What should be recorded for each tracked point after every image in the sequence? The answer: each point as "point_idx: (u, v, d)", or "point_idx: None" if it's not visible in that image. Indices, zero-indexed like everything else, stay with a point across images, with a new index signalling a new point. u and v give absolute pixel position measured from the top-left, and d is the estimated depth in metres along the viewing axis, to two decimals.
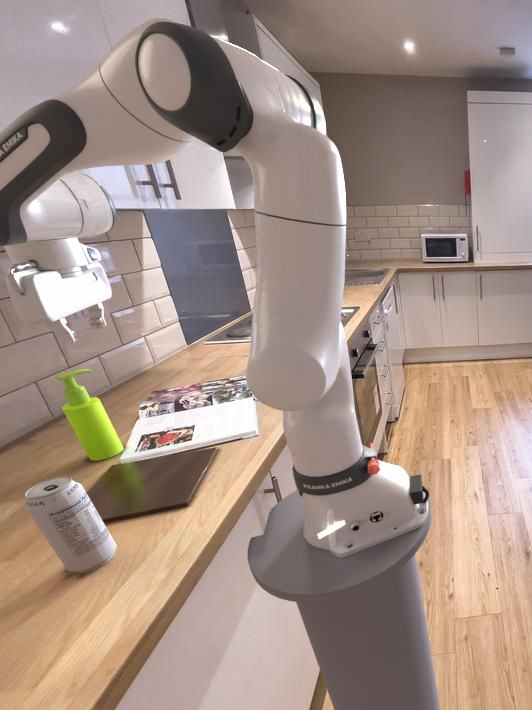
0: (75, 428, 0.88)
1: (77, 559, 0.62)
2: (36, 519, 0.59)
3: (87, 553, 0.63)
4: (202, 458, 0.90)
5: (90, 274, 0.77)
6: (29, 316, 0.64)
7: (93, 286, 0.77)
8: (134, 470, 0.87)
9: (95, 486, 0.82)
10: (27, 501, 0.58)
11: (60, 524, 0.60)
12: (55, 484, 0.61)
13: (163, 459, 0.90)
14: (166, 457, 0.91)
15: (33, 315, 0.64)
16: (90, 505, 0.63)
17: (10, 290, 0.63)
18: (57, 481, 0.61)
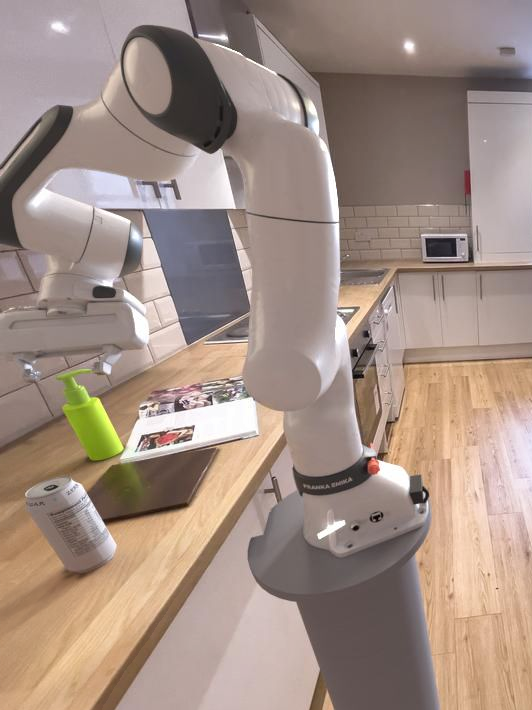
0: (75, 428, 0.88)
1: (77, 559, 0.62)
2: (36, 519, 0.59)
3: (87, 553, 0.63)
4: (202, 458, 0.90)
5: (110, 315, 0.69)
6: None
7: (99, 326, 0.68)
8: (134, 470, 0.87)
9: (95, 486, 0.82)
10: (27, 501, 0.58)
11: (60, 524, 0.60)
12: (55, 484, 0.61)
13: (163, 459, 0.90)
14: (166, 457, 0.91)
15: None
16: (90, 505, 0.63)
17: None
18: (57, 481, 0.61)
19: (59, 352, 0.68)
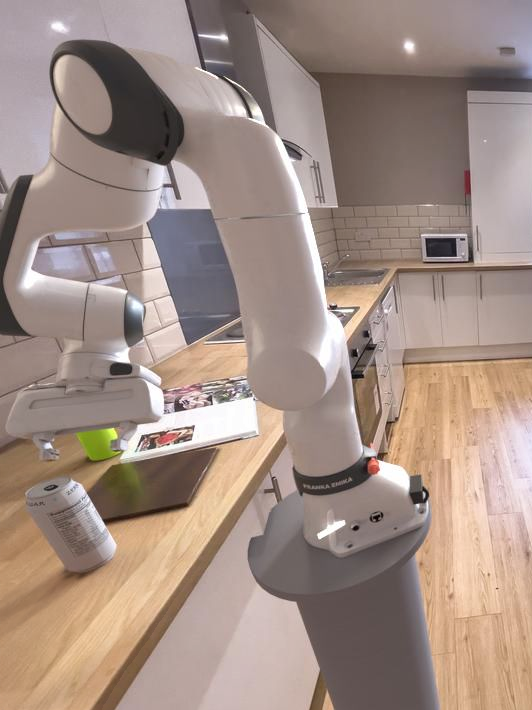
0: None
1: (77, 559, 0.62)
2: (36, 519, 0.59)
3: (87, 553, 0.63)
4: (202, 458, 0.90)
5: (126, 391, 0.70)
6: None
7: (116, 402, 0.69)
8: (134, 470, 0.87)
9: (95, 486, 0.82)
10: (27, 501, 0.58)
11: (60, 524, 0.60)
12: (55, 484, 0.61)
13: (163, 459, 0.90)
14: (166, 457, 0.91)
15: None
16: (90, 505, 0.63)
17: None
18: (57, 481, 0.61)
19: (76, 428, 0.69)
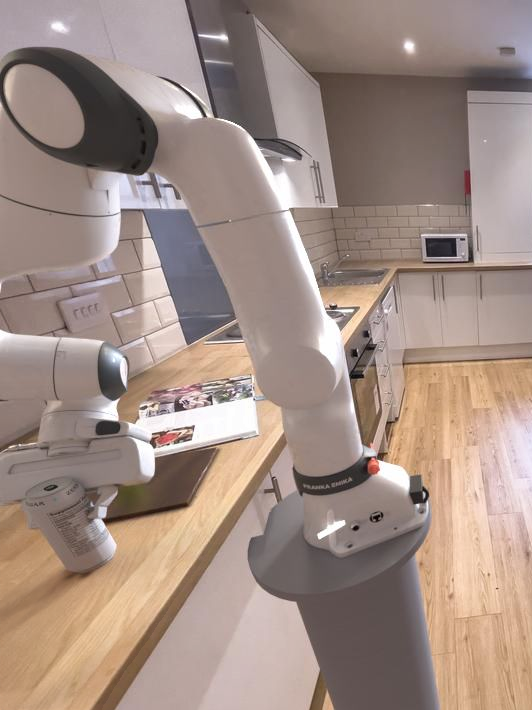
0: None
1: (77, 559, 0.62)
2: (36, 519, 0.59)
3: (87, 553, 0.63)
4: (202, 458, 0.90)
5: (114, 451, 0.65)
6: None
7: (102, 464, 0.64)
8: None
9: None
10: (27, 501, 0.58)
11: (60, 524, 0.60)
12: (55, 484, 0.61)
13: (163, 459, 0.90)
14: (166, 457, 0.91)
15: None
16: (90, 505, 0.63)
17: None
18: (57, 481, 0.61)
19: None
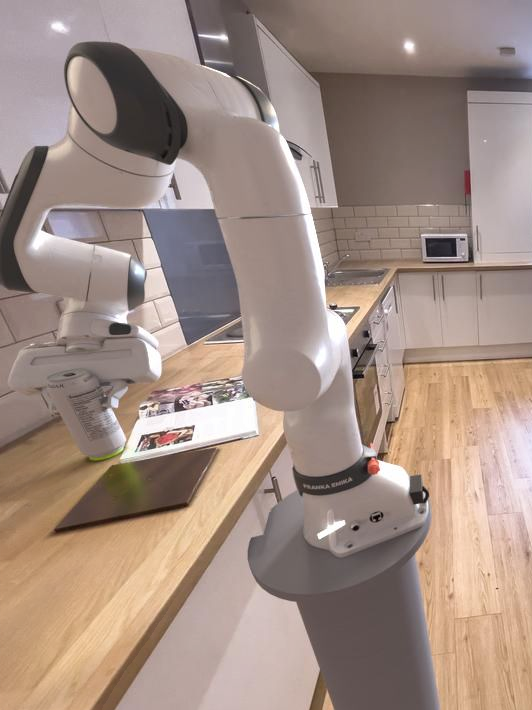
0: None
1: (92, 443, 0.70)
2: (56, 401, 0.66)
3: (101, 439, 0.70)
4: (202, 458, 0.90)
5: (125, 351, 0.73)
6: None
7: (115, 361, 0.72)
8: (134, 470, 0.87)
9: (95, 486, 0.82)
10: (49, 384, 0.65)
11: (78, 407, 0.67)
12: (73, 373, 0.68)
13: (163, 459, 0.90)
14: (166, 457, 0.91)
15: None
16: (103, 396, 0.70)
17: None
18: (74, 371, 0.68)
19: None
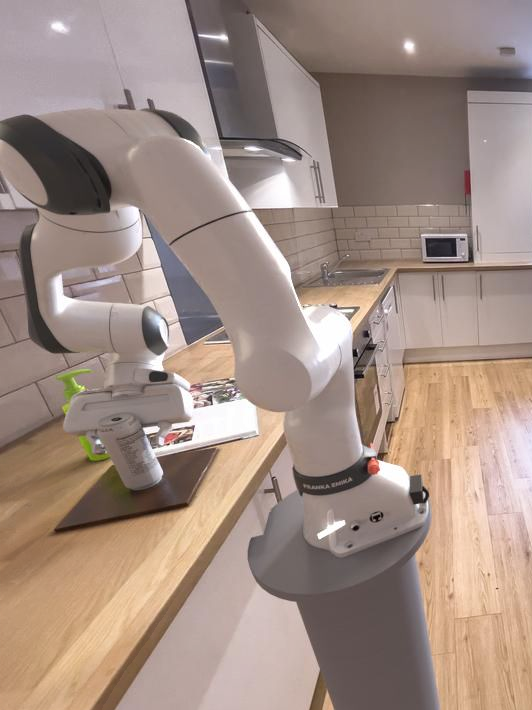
0: None
1: (135, 477, 0.79)
2: (106, 443, 0.76)
3: (143, 474, 0.80)
4: (202, 458, 0.90)
5: (163, 395, 0.82)
6: None
7: (154, 405, 0.81)
8: None
9: (95, 486, 0.82)
10: (99, 428, 0.75)
11: (124, 447, 0.77)
12: (119, 417, 0.77)
13: (163, 459, 0.90)
14: (166, 457, 0.91)
15: None
16: (145, 436, 0.80)
17: None
18: (120, 415, 0.78)
19: None
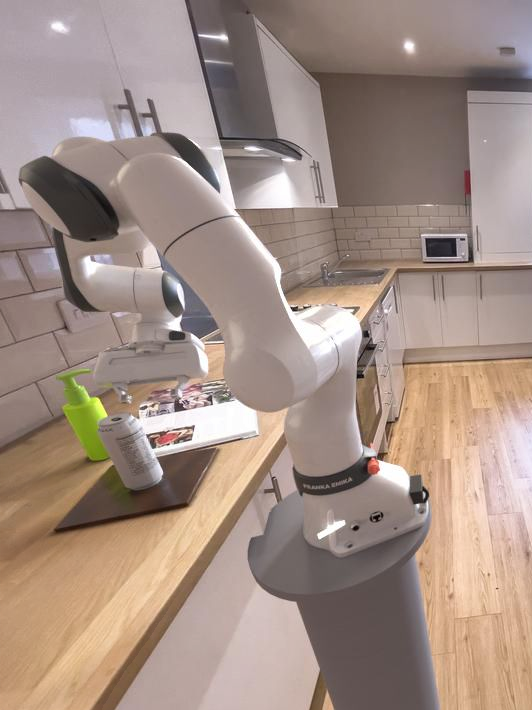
0: (75, 428, 0.88)
1: (135, 477, 0.79)
2: (106, 443, 0.76)
3: (143, 474, 0.80)
4: (202, 458, 0.90)
5: (181, 353, 0.91)
6: None
7: (173, 361, 0.90)
8: None
9: (95, 486, 0.82)
10: (99, 428, 0.75)
11: (124, 447, 0.77)
12: (119, 417, 0.77)
13: (163, 459, 0.90)
14: (166, 457, 0.91)
15: None
16: (145, 436, 0.80)
17: None
18: (120, 415, 0.78)
19: (143, 380, 0.90)
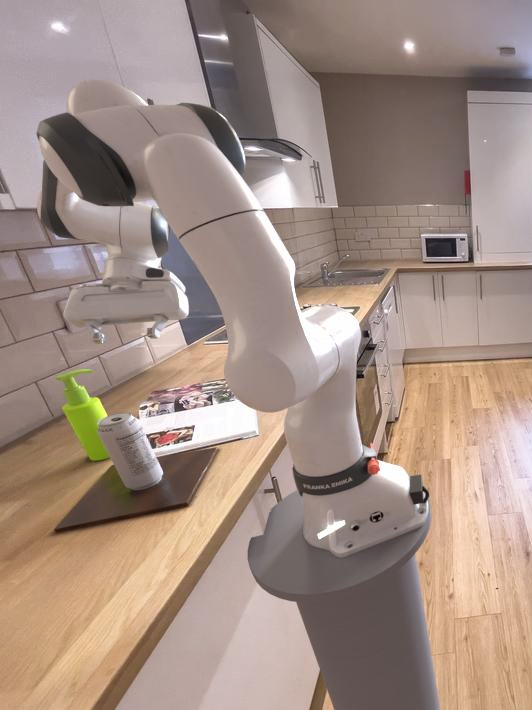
0: (75, 428, 0.88)
1: (135, 477, 0.79)
2: (106, 443, 0.76)
3: (143, 474, 0.80)
4: (202, 458, 0.90)
5: (159, 292, 0.86)
6: None
7: (150, 299, 0.85)
8: None
9: (95, 486, 0.82)
10: (99, 428, 0.75)
11: (124, 447, 0.77)
12: (119, 417, 0.77)
13: (163, 459, 0.90)
14: (166, 457, 0.91)
15: None
16: (145, 436, 0.80)
17: None
18: (120, 415, 0.78)
19: (118, 320, 0.85)
